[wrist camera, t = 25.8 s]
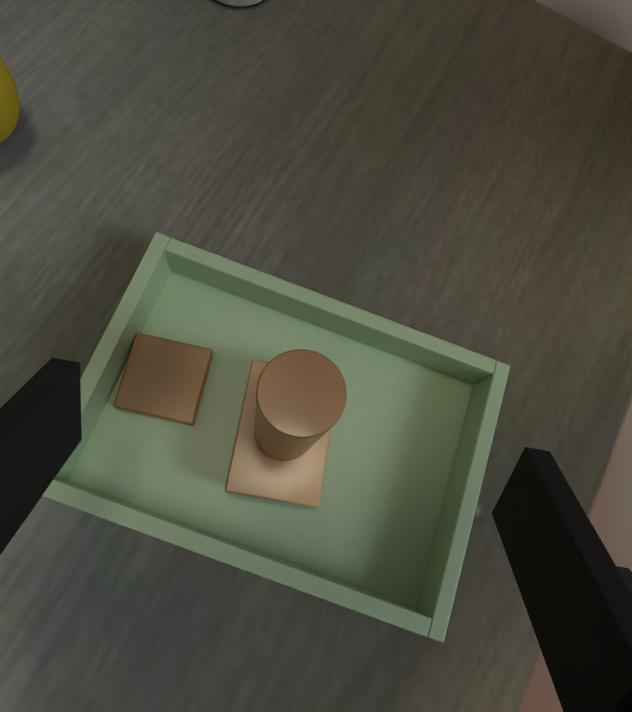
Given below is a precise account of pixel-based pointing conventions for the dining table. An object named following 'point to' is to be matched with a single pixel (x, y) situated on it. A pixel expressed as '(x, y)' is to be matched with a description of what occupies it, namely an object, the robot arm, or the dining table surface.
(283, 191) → the dining table surface
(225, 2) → the pill bottle
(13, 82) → the lemon
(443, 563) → the tray
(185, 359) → the flat brown square tile
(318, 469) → the cylinder on block base
